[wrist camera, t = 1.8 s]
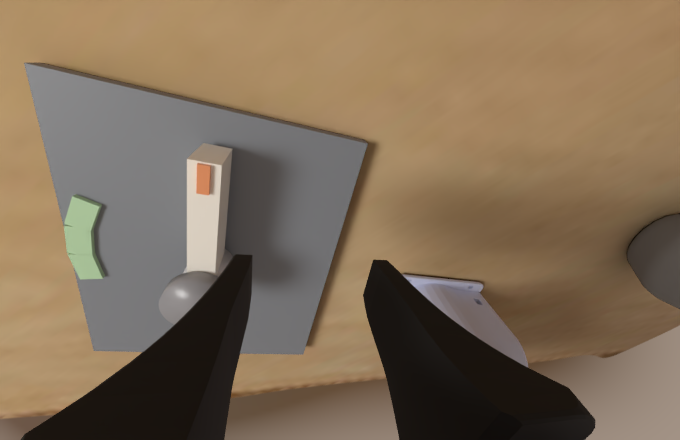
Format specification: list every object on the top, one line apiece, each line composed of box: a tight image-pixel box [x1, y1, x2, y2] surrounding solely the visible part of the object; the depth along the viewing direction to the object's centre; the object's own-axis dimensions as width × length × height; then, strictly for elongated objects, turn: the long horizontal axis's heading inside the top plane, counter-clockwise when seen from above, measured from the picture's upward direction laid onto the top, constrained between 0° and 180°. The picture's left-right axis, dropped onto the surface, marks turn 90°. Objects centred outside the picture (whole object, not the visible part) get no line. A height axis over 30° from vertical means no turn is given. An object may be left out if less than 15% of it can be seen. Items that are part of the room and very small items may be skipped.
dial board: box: [24, 63, 368, 354], centre depth 21 cm, size 18×22×1 cm
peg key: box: [159, 143, 233, 325], centre depth 17 cm, size 11×4×4 cm, turn 165°
